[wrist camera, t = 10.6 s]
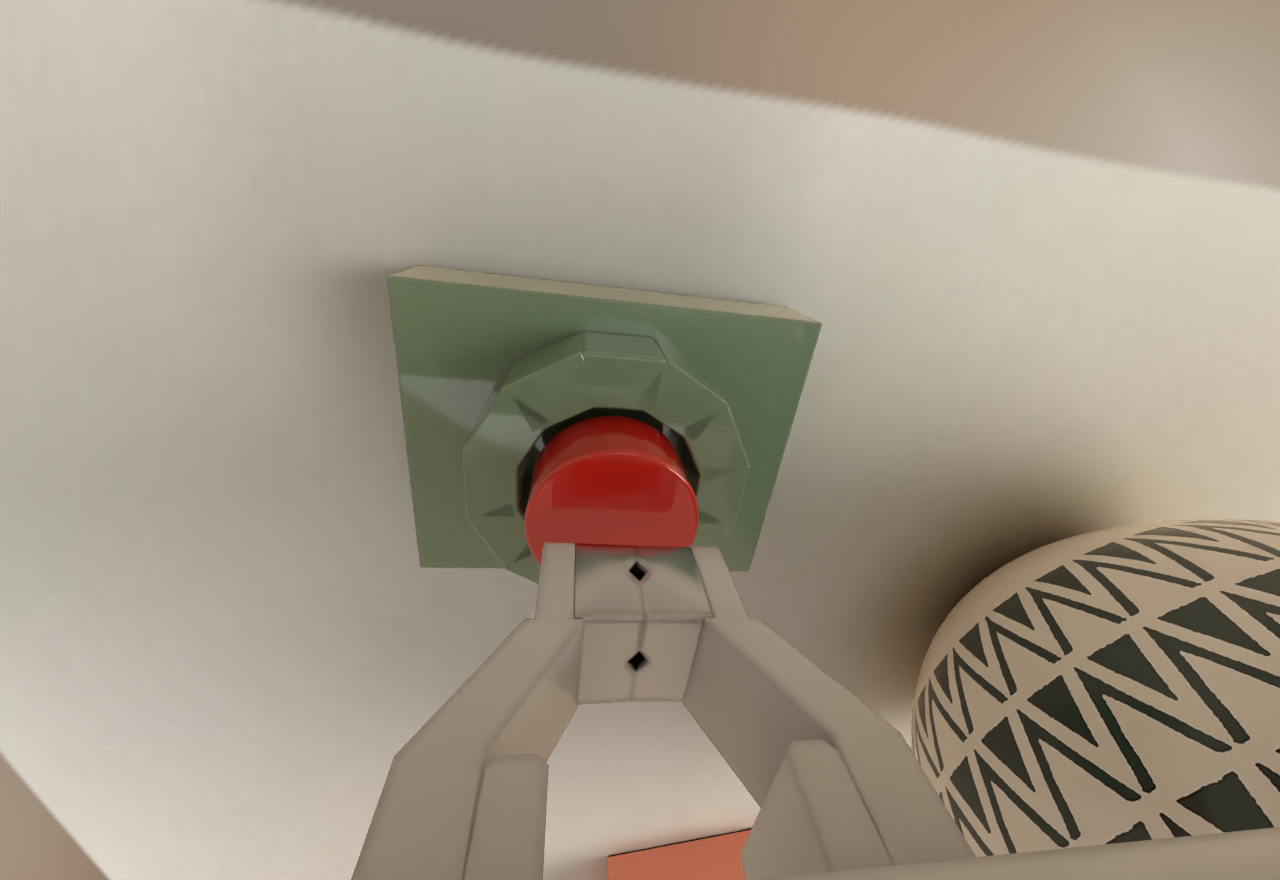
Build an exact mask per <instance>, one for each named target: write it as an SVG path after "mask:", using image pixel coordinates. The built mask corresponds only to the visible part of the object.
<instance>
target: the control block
mask: <svg viewBox="0 0 1280 880" xmlns="http://www.w3.org/2000/svg"><path fill="white" fill-rule="evenodd" d="M387 281H388V289H389V298H390V307H391V316H392V325H393V333H394V342H395V351H396V360H397V368H398V377H399V386H400V395H401V404H402V412H403V421H404V430H405V439H406V447H407V456H408V465H409V474H410V483H411V491H412V500H413V509H414V518H415V526H416V535H417V544H418V553H419V562H420V567H427V568H506V569H507V570H508V571H510V572H513V573H515V574H517V575H520V576H522V577H524V578H526V579H529V580H531V581H533V582H536V583H538V584H539V578H540V569H541V565H540V564H539V563H538V562H537V561H536V559H535V558H534V556H533V554H532V553H531V551H530V549H529V546H528V544H527V541H526V537H525V531H524V518H525V510H526V505H527V499H528V494H529V488H530V483H531V477H532V472H533V468H534V465H535V462H536V460H537V458H538V456H539V454H540V452H541V451H542V449H543V448H544V447H545V445H546V444H547V443H548V442H549V441H550V440H551V439H552V438H553V437H554V436H555V435H556V434H557V433H559V432H560V431H562V430H563V429H565V428H566V427H568V426H570V425H572V424H574V423H576V422H579V421H582V420H585V419H588V418H593V417H598V416H623V417H629V418H633V419H637V420H639V421H642V422H644V423H647V424H649V425H650V426H652V427H654V428H656V429H657V430H658V431H660V432H661V433H662V434H664V435H665V436H666V437H667V438H668V439H669V440H670V442H671V443H672V444H673V446H674V447H675V449H676V451H677V452H678V454H679V456H680V459H681V461H682V464H683V466H684V469H685V471H686V474H687V476H688V478H689V481H690V483H691V486H692V488H693V491H694V493H695V496H696V499H697V503H698V508H699V522H698V528H697V532H696V535H695V539H694V541H693V543H692V545H691V546H717V547H718V548H719V549H720V551H721V553H722V556H723V558H724V560H725V563H726V565H727V568H728V570H729V571H749V568H750V565H751V561H752V558H753V555H754V551H755V548H756V544H757V541H758V538H759V534H760V531H761V528H762V524H763V521H764V517H765V514H766V511H767V507H768V504H769V501H770V497H771V494H772V490H773V487H774V484H775V480H776V477H777V474H778V470H779V467H780V464H781V460H782V457H783V453H784V450H785V447H786V443H787V440H788V437H789V433H790V430H791V426H792V423H793V420H794V416H795V413H796V410H797V406H798V403H799V399H800V396H801V393H802V389H803V386H804V383H805V379H806V376H807V373H808V369H809V366H810V362H811V359H812V356H813V352H814V349H815V346H816V342H817V339H818V335H819V332H820V329H821V325H822V324H821V323H820V322H819V321H816V320H814V319H812V318H810V317H808V316H805V315H803V314H801V313H799V312H797V311H795V310H792V309H790V308H788V307H786V306H777V305H768V304H759V303H750V302H742V301H733V300H724V299H715V298H706V297H697V296H688V295H680V294H671V293H662V292H653V291H644V290H635V289H626V288H618V287H609V286H600V285H591V284H582V283H573V282H564V281H556V280H547V279H538V278H529V277H520V276H511V275H502V274H494V273H485V272H476V271H467V270H458V269H449V268H440V267H431V266H423V265H420V266H417V267H414V268H411V269H408V270H405V271H402V272H399V273H396V274H393V275H390V276H388V277H387Z"/></svg>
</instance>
